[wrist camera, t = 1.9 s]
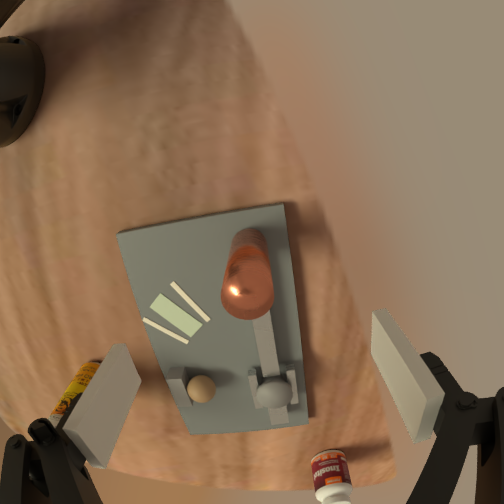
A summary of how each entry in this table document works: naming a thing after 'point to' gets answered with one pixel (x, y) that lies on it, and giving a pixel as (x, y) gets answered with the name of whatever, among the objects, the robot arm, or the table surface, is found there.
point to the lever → (255, 308)
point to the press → (215, 319)
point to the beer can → (74, 390)
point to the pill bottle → (331, 477)
